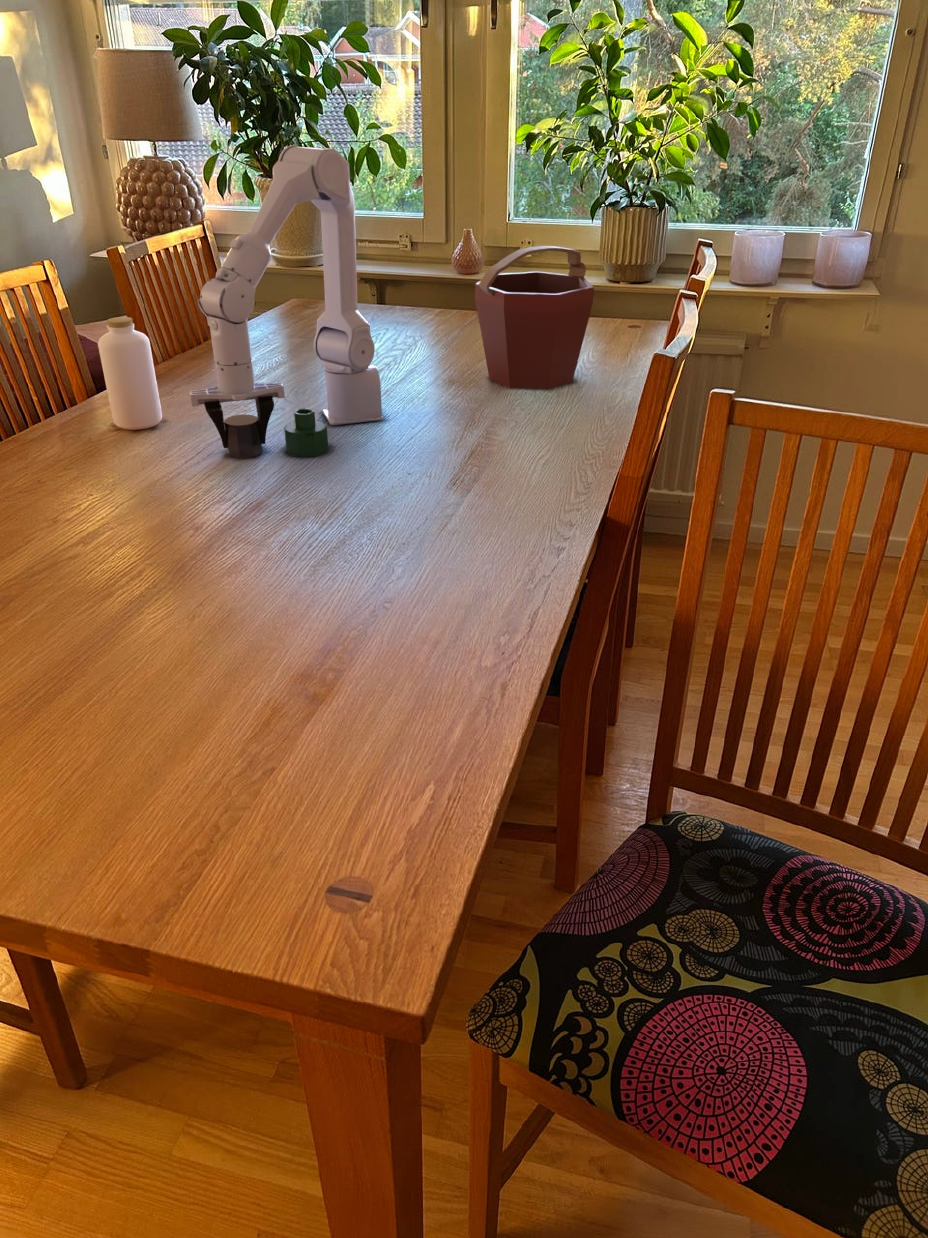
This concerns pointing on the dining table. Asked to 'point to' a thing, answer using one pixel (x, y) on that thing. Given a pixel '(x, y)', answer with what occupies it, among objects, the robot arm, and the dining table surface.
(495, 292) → the bucket
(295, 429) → the bottle
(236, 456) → the faceted brown jar
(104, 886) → the dining table surface
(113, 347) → the potion bottle
